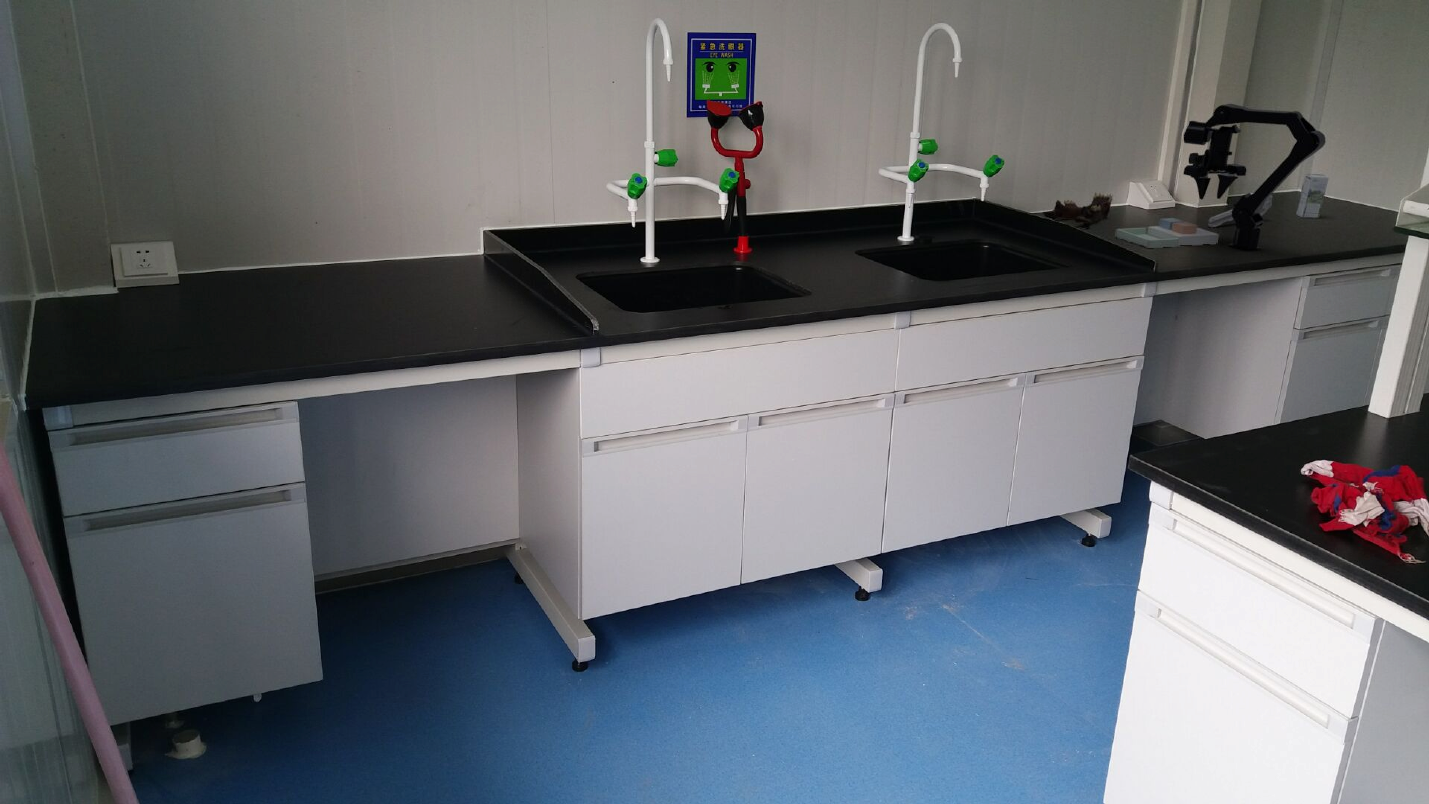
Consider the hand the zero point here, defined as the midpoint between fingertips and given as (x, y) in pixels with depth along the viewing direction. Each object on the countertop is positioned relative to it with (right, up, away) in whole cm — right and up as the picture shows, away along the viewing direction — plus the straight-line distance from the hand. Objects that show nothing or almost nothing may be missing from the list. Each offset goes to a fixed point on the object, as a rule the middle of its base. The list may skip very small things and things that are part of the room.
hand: (1209, 198), depth 332 cm
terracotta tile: (-7, -10, +1) cm, 12 cm away
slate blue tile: (-9, -8, +7) cm, 14 cm away
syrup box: (+54, +2, +44) cm, 70 cm away
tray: (-19, -13, +1) cm, 23 cm away
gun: (+23, -3, +30) cm, 38 cm away
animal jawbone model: (-28, -3, +27) cm, 39 cm away
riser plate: (-7, -12, +5) cm, 14 cm away
